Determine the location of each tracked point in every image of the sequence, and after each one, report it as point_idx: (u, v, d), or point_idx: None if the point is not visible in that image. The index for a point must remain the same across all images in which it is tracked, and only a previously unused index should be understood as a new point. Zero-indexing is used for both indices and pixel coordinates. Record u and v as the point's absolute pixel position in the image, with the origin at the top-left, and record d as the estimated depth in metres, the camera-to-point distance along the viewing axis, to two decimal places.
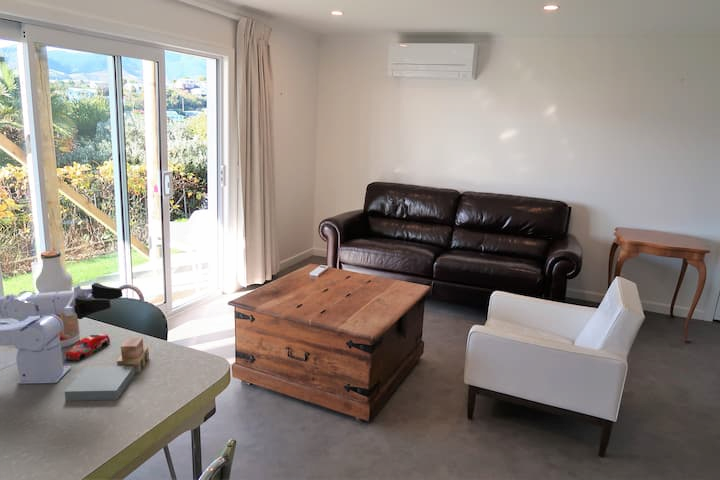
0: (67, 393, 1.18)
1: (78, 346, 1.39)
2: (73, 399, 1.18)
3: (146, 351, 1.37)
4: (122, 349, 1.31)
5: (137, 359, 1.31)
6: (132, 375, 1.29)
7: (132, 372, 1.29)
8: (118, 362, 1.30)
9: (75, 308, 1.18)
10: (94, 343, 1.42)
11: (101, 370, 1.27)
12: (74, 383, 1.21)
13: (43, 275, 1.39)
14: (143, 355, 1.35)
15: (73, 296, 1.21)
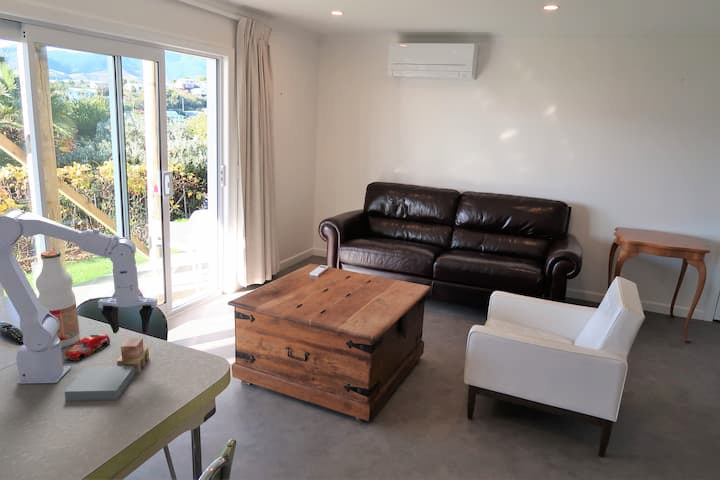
0: (67, 393, 1.18)
1: (78, 346, 1.39)
2: (73, 399, 1.18)
3: (146, 351, 1.37)
4: (122, 349, 1.31)
5: (137, 359, 1.31)
6: (132, 375, 1.29)
7: (132, 372, 1.29)
8: (118, 362, 1.30)
9: None
10: (93, 343, 1.42)
11: (101, 370, 1.27)
12: (74, 383, 1.21)
13: (43, 275, 1.39)
14: (143, 355, 1.35)
15: None
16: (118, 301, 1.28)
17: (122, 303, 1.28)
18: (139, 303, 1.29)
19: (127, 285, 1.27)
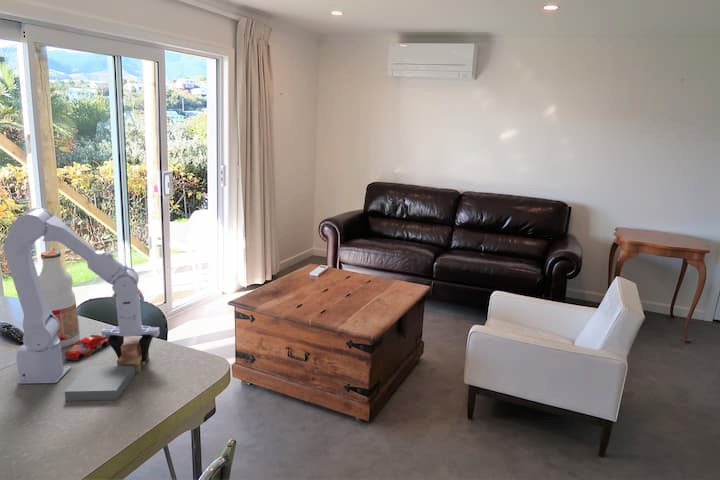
0: (67, 393, 1.18)
1: (78, 346, 1.39)
2: (73, 399, 1.18)
3: None
4: (122, 349, 1.31)
5: (137, 359, 1.31)
6: (132, 375, 1.29)
7: (132, 372, 1.29)
8: (118, 362, 1.30)
9: None
10: (93, 343, 1.41)
11: (101, 370, 1.27)
12: (74, 383, 1.21)
13: (43, 275, 1.39)
14: None
15: None
16: (121, 331, 1.30)
17: (125, 333, 1.30)
18: (142, 332, 1.31)
19: (130, 315, 1.29)
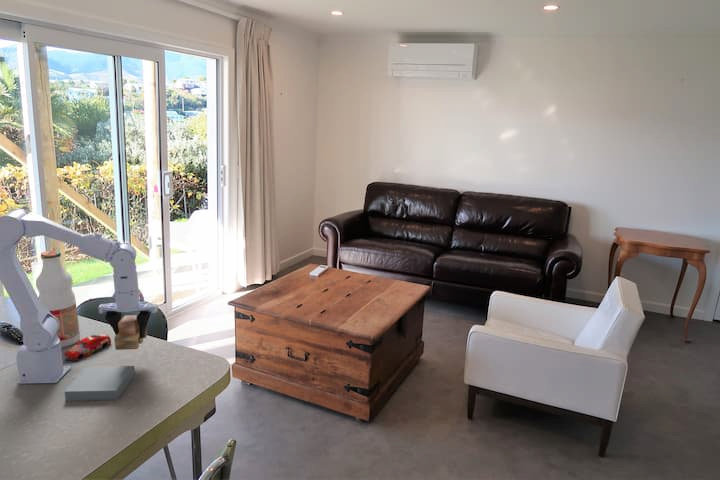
0: (67, 393, 1.18)
1: (78, 346, 1.39)
2: (73, 399, 1.18)
3: None
4: (119, 326, 1.30)
5: (135, 336, 1.30)
6: (132, 375, 1.29)
7: (132, 372, 1.29)
8: (115, 339, 1.29)
9: (150, 311, 1.32)
10: (93, 343, 1.41)
11: (101, 370, 1.27)
12: (74, 383, 1.21)
13: (43, 275, 1.39)
14: None
15: None
16: (118, 306, 1.28)
17: (122, 308, 1.28)
18: (139, 308, 1.29)
19: (127, 290, 1.27)
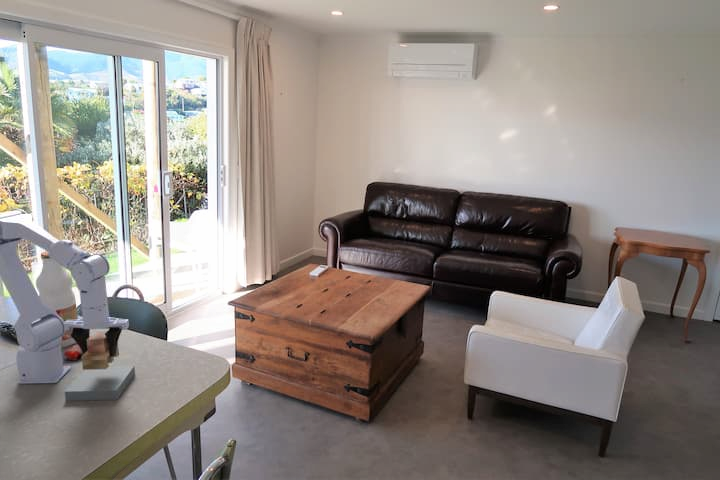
0: (67, 393, 1.18)
1: (77, 346, 1.39)
2: (73, 399, 1.18)
3: None
4: (88, 343, 1.20)
5: (104, 354, 1.20)
6: (132, 375, 1.29)
7: (132, 372, 1.29)
8: (83, 358, 1.19)
9: (120, 328, 1.22)
10: None
11: (101, 370, 1.27)
12: (74, 383, 1.21)
13: (43, 275, 1.39)
14: None
15: None
16: (85, 323, 1.18)
17: (90, 325, 1.18)
18: (108, 325, 1.19)
19: (87, 306, 1.16)
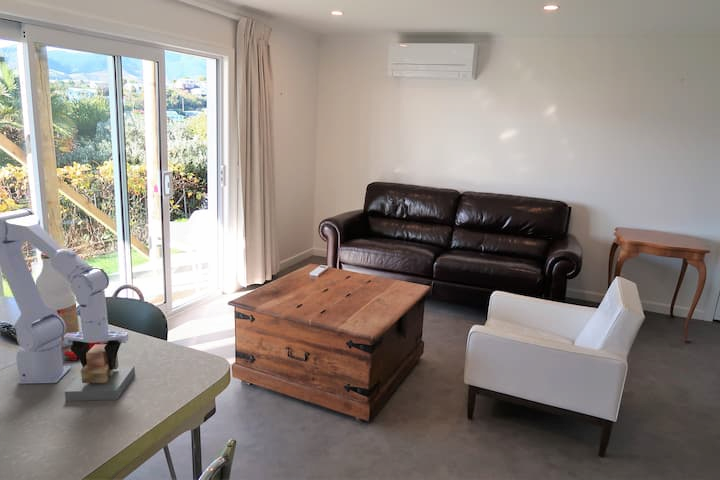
0: (67, 393, 1.18)
1: None
2: (73, 399, 1.18)
3: None
4: (87, 356, 1.20)
5: (103, 368, 1.20)
6: (132, 375, 1.29)
7: (132, 372, 1.29)
8: (82, 371, 1.19)
9: (119, 341, 1.22)
10: (93, 343, 1.41)
11: None
12: (74, 383, 1.21)
13: (43, 275, 1.39)
14: None
15: None
16: (85, 336, 1.18)
17: (89, 339, 1.18)
18: (108, 338, 1.19)
19: (87, 320, 1.17)
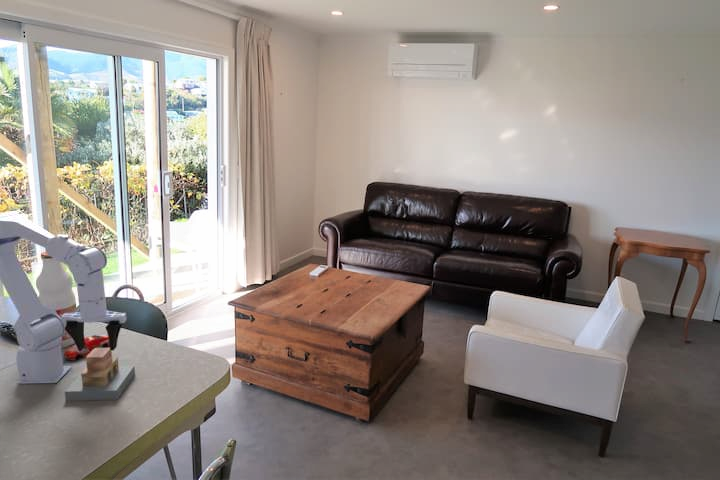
0: (67, 393, 1.18)
1: None
2: (73, 399, 1.18)
3: (115, 362, 1.26)
4: (87, 360, 1.20)
5: (104, 371, 1.20)
6: (132, 375, 1.29)
7: (132, 372, 1.29)
8: (82, 375, 1.19)
9: None
10: (93, 344, 1.41)
11: None
12: (74, 383, 1.21)
13: (43, 275, 1.39)
14: (111, 367, 1.23)
15: None
16: (82, 316, 1.17)
17: (87, 318, 1.17)
18: (106, 318, 1.18)
19: (84, 299, 1.16)
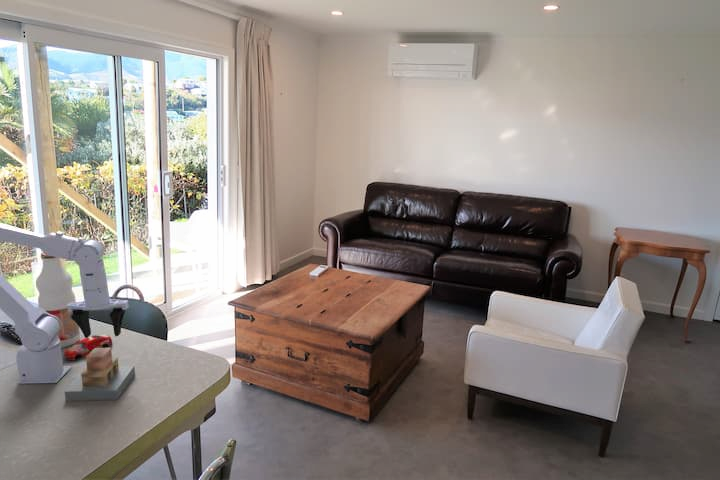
0: (67, 393, 1.18)
1: (77, 346, 1.40)
2: (73, 399, 1.18)
3: (115, 362, 1.26)
4: (87, 360, 1.20)
5: (104, 371, 1.20)
6: (132, 375, 1.29)
7: (132, 372, 1.29)
8: (82, 375, 1.19)
9: None
10: (92, 344, 1.41)
11: None
12: (74, 383, 1.21)
13: (43, 275, 1.39)
14: (111, 367, 1.23)
15: None
16: (87, 304, 1.24)
17: (91, 306, 1.24)
18: (109, 306, 1.26)
19: (94, 288, 1.23)
